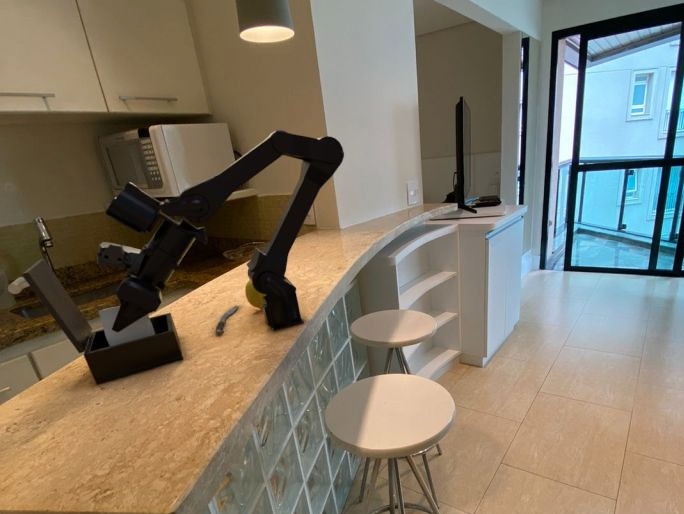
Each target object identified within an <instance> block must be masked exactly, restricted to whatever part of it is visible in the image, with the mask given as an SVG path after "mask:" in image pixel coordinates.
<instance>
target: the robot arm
mask: <svg viewBox="0 0 684 514" xmlns="http://www.w3.org/2000/svg"><path fill="white" fill-rule="evenodd" d="M283 156H285V157H289V158H293V159H296V160H300V161H302V162H301V167H300V172H299V173H300V174H299V179H298V181H297V182H296V186H294V190H293V191H292V194H291V196H290V198H289V200H288V202H287V204H286V205H285V208H284V209H283V212H282V214H281V216H280V218H279V220H278V223H277V225H276V227H275V229H274V230H273V233H272V235H271V237H270V239H269V241H268V243H266V245H265V246H264V247H263V248H262V250H261V248H258V247H256V246H255V247H254V249H253V252H252V256H251V258H250V260H249V261H248V262H247V263H246V267H247V268H248V269H247V277H248V281H249V280H250V282H251V283H252V285H253V287H254V288H255V289H256V291H258V292H259V293H261V294H266V296H263V301H264V304H262V313H263V318H264V323H265V324H266V325H267V326H268V327H270V328H271V330H272V331H274V332H276V331H280V330H283V329H287V328H290V327H294V326H297V325H300V324H303V323H305V320H304V318H303V317H302V316H301V315H302V314H301V310H300V306H299V301H298V296H297V287H296V286H295V285H294V284H293V283H292V281H291V280H290V279H289V278H288V277H287V276H285V275H286V272H287V268H288V267H287V266H288V260H289V254H290V252H291V250H292V247H293V246H294V243H295V242H296V239H297V238H298V235H299V233H300V231H301V229H302V227H303V225H304V223H305V221H306V219H307V217H308V215H309V213H310V211H311V210H312V209H311V208H312V207H313V204H314V202H315V201H316V198H317V197H318V194H319V192H320V190H321V189H322V188H323V187H324V185H325V184H326V183H327V182H328V181H329V180H330V179H331V178H332V177H333V176H334V174H335V173H336V172H337V170H338V169H339V167H340V166H341V165H342V163H343V161H344V158H345V151H344V147H343V146H342V144H341V142H340V141H339V140H338V139H337V138H335V137H333V136H328V135H326V136H322V137H318V138H315V137H311V136H305V135H301V134H294V133H290V132H287V131H285V130H275V131H273V132H271V133H270V134H268V136H267V137H266V138H265V139H264V140H262V141H261V142H260V143H258V144H257V145H255V147H253V148H251V149H250V150H248V151H247V152H246V153H245V154H243V155H242V156H241V157H239V158H238V159H237V160H235V161H234V162H232V163H231V164H229V165H228V166H227V167H226V168H224V169H223V170H221V171H220V172H219V173H217V174H215V175H213V176H211V177H207V178H206V179H204V180H201V181H199V182H197V183H195V184H193V185H191V186H188V187H186V188H185V189H183V190H182V191H181V192H180V194H179V196H178V197H173V198H170V199H168V198H166V199H165V200H162V201H159V200H158V199H156V198H155V197H153V196H151V195H150V194H149V193H147V192H145V191H143V190H142V189H141V188H140V187H139V186H138V185H136V184H135V183H133V182H127V183H126V184H125V186H124V187H123V188H122V189H121V191H119V194H117V196H116V197H114V198H113V199H112V201H111V203H110V204H109V205H108V207H107V209H106V211H105V213H104V216H105V217H107V218H109V219H111V220H112V221H114V222H116V223H118V224H119V225H121V226H123V227H125V228H127V229H128V230H130V231H131V232H133V233H135V234H137V235H141V233H144V234H145V233H148V234H150V233H151V232H152V230H153V229H154V228H155V226H156V224H157V223H158V221H159V219H163V220H162V222H161V224H160V225H159V226H158V228H157V230H156V231H155V233H154V234H153V235H152V237H151V239H150V240H149V241H148V243H147V244H144V245H143V247H142V248H141V249H139V248H135V247H132V246H129V245H128V246H127V245H123V244H119V243H113V242H108V241H102V242H101V243H100V244H99V245H98V251H97V253H96V257H97V258H96V264H97V265H99V266H103V267H107V266H110V267H115V268H120V269H124V270H125V269H126V270H127V271H126V273H125V275H124V278H123V280H122V281H121V283H120V284H119V286H118V287H117V289H116V291H115V296H116V297H117V298H118V300H119V303H120V305H119V306H120V308H119V311H118V314H117V316H116V319H115V322H114V324H113V327H112V330H113V331H115V332H120V331H121V330H123V329H125V328H126V327H128V326H129V325H131V324H132V323H134V322H136V321H137V320H139V319H141V318H142V317H144V316H146V315H147V314H148V315H149V314H151V313H153V312H154V313H156V312H157V311H158V309H159V307H160V306H161V304H162V303H163V294H162V291H164V290H165V288H166V286H167V282H168V281H169V280H170V278H171V277H172V275H173V274H174V272H175V271H177V270H178V269H179V267H180V263H181V261H182V260H183V258H184V257H185V256H186V254H187V252H188V251H189V250H190V248H191V246H192V245H193V244H194V242H195V240H197V241H199V242H201V243H202V244H205V245H206V244H208V237H207V236H206V227H205V226H200V227H197V226H196V225H193V224H192V223H190V222H193V223H199V224H201V223H205V222H208V221H209V220H211V218H212V217H213V216H214V215H216V213H217V212H218V211H219V210H220V209H221V207H222V206H223V205H224V204H225V203H226V202H227V200H228V199H229V198H230V196H232V194H233V193H234V192H235V191H236V190H237V191H238V189H240V187H242V186H243V185H245V184H246V183H248V182H249V181H250V180H252V179H253V178H254V177H255V176H257V175H258V174H259V173H261V172H262V171H263V170H265V169H267V167H269V166H270V165H272V164H273V163H274V162H276V161H277V160H278V159H280V158H282V157H283ZM172 217H184V218H182V219H180V221H177V220H176V219H173V218H172ZM185 219H186V220H188V221H190V222H188V221H186V220H185Z"/></svg>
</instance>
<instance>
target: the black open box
mask: <svg viewBox="0 0 684 514" xmlns="http://www.w3.org/2000/svg"><path fill="white" fill-rule="evenodd" d="M149 318H150V321H151V323H152V326H153V329H154V332H155V335H152V336H148V337H144V338H141V339H137V340H133V341H129V342H125V343H122V344H118V345H114V346H109V343H108V341H107V338H106V336H105V332H104V329H103V328H102V329H98V330H94V331H91V334H90V337H89V340H88V343H87V346H86V349H85V351H84V352H83V357H84V360H85V362H86V365H87V367H88V369H89V371H90V374H91V375H92V378H93V380H94V382H95V384H96V386H99V385H103V384H106V383H109V382H112V381H116V380H120V379H122V378H123V379H124V378H127V377H130V376H133V375H137V374H140V373H143V372H147V371H150V370H153V369H157V368H160V367H164V366H167V365H171V364H173V363H177V362H181V361H184V355H183V350H182V345H181V340H180V337H179V334H178V331H177V328H176V325H175V321H174V319H173V316H172V313H171V312H168V313H164V314H159V315H154V316H150V317H149Z"/></svg>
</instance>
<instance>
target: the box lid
mask: <svg viewBox="0 0 684 514" xmlns="http://www.w3.org/2000/svg"><path fill="white" fill-rule="evenodd" d="M28 287H30V288H31V289H32V291H33V293H35V295H36V296H37V297H38V299H39V301H40V302H41V303H42V304H43V306H44V307H45V309H46V310H47V311H48V313H49V315H51V317H52V318H53V319H54V321H55V322H56V324H57V325H58V327H59V329H61V330H62V332H63V333H64V335H65V336H66V337H67V339H68V340H69V341H70V343H71V344H72V345H73V347H74V349H76V351H77V352H78V354H82V353H84V352H85V349H86V346H87V343H88V340H89V337H90V334H91V332H93V328H92V326H91V324H90V323H89V321H88V320H87V319H86V317H85V316H84V315H83V313H82V312H81V310H80V308H79V307H78V305H77V304H76V303H75V301H74V300H73V298H72V297H71V295H70V294H69V293H68V292H67V290H66V288H65V287H64V285H63V284H62V283H61V281H60V280H59V278H58V277H57V275H56V274H55V272H54V271H53V270H52V268H51V267H50V265H49V263H48V262H47V261H46V259H45V258H40V259H39V260H37V261H36V262H35V263H34V264H32V265H31V266H30V267H28V269H26V270H25V271H24V272H22V273H21V276H19V277H18V278H16V279H15V280H14V281H12V282H11V283H10V284H9V285H8V287H7V290H8V292H9V293H10V294H13V295H18V294H20V293H21V292H22V291H23V290H24V289H25V288H28Z"/></svg>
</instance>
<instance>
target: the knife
mask: <svg viewBox="0 0 684 514" xmlns="http://www.w3.org/2000/svg"><path fill="white" fill-rule="evenodd" d="M238 308H239V306H238V305H234V306H233V307H231V308H230V309H229V310H227V311H226V312H225V313H224V314H223V315H222V316H221V317H220V319H219V321H218V323H217V325H216V328H215V333H216V335H221V334H224V333H225V331H224V325H226V324H227V322H226V320H227V318H228V317H229V316H231V315H232V314H234V313H235V311H237V309H238Z"/></svg>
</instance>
